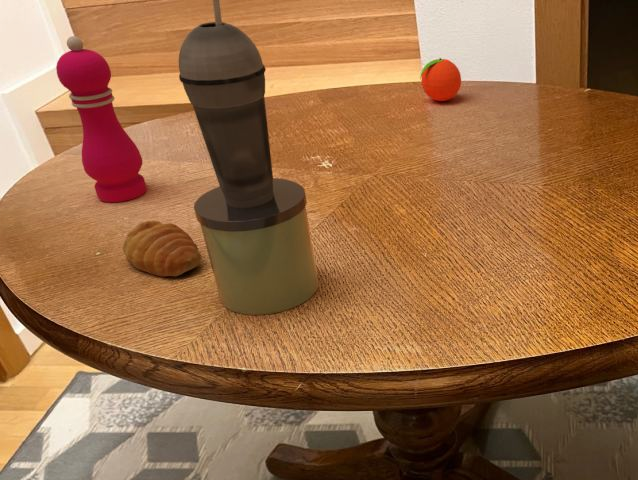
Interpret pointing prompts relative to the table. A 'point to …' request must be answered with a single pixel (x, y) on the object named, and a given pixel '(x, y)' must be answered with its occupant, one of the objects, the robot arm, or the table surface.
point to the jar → (260, 250)
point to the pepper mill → (100, 125)
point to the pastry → (161, 249)
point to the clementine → (441, 79)
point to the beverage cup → (230, 108)
